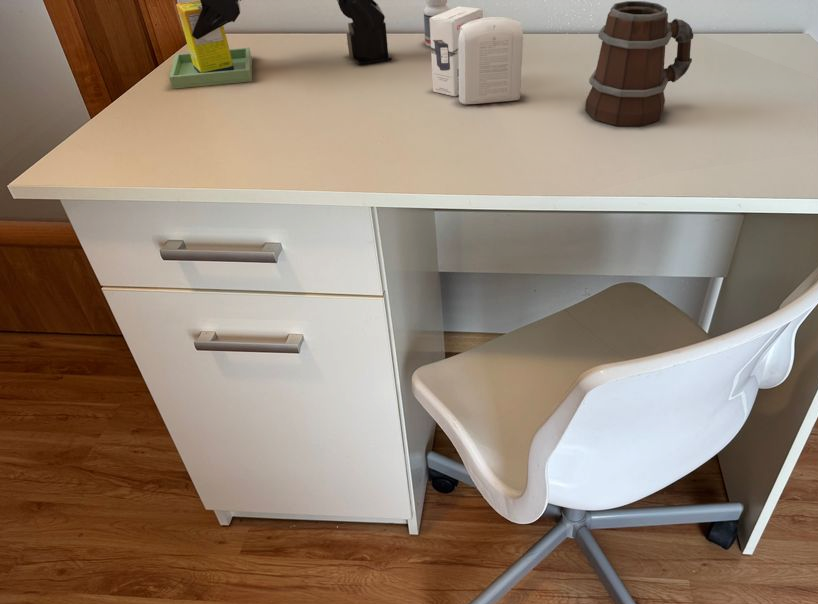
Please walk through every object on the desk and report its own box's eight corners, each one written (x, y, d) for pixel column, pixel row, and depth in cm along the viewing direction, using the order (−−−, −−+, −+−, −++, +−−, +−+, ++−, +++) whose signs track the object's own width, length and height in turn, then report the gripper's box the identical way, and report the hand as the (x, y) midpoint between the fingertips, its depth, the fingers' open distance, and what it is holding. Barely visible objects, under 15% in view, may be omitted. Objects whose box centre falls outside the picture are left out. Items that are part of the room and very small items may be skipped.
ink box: (460, 77, 118) (458, 4, 110) (483, 82, 116) (484, 8, 108) (431, 92, 113) (427, 16, 105) (455, 97, 111) (454, 20, 103)
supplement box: (225, 62, 125) (209, -3, 118) (235, 71, 121) (219, 4, 114) (193, 68, 122) (174, 3, 115) (202, 77, 119) (183, 10, 111)
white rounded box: (516, 92, 112) (519, 11, 104) (524, 101, 109) (527, 19, 101) (456, 98, 110) (454, 17, 102) (462, 107, 107) (460, 24, 99)
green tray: (251, 58, 128) (249, 47, 127) (251, 81, 118) (249, 69, 117) (178, 65, 126) (175, 53, 125) (172, 89, 116) (169, 77, 115)
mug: (605, 131, 99) (618, 21, 89) (574, 102, 108) (584, 0, 98) (701, 119, 102) (724, 12, 92) (663, 92, 111) (681, -8, 101)
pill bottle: (448, 48, 131) (446, -2, 125) (422, 47, 132) (419, -3, 126) (454, 40, 135) (452, -9, 129) (428, 39, 136) (426, -9, 130)
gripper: (203, -92, 114) (156, -14, 119) (197, -75, 100) (144, 12, 106) (261, -42, 121) (214, 29, 126) (262, -20, 107) (209, 59, 112)
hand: (195, 31), depth 117 cm, fingers closed on supplement box, 7 cm apart
